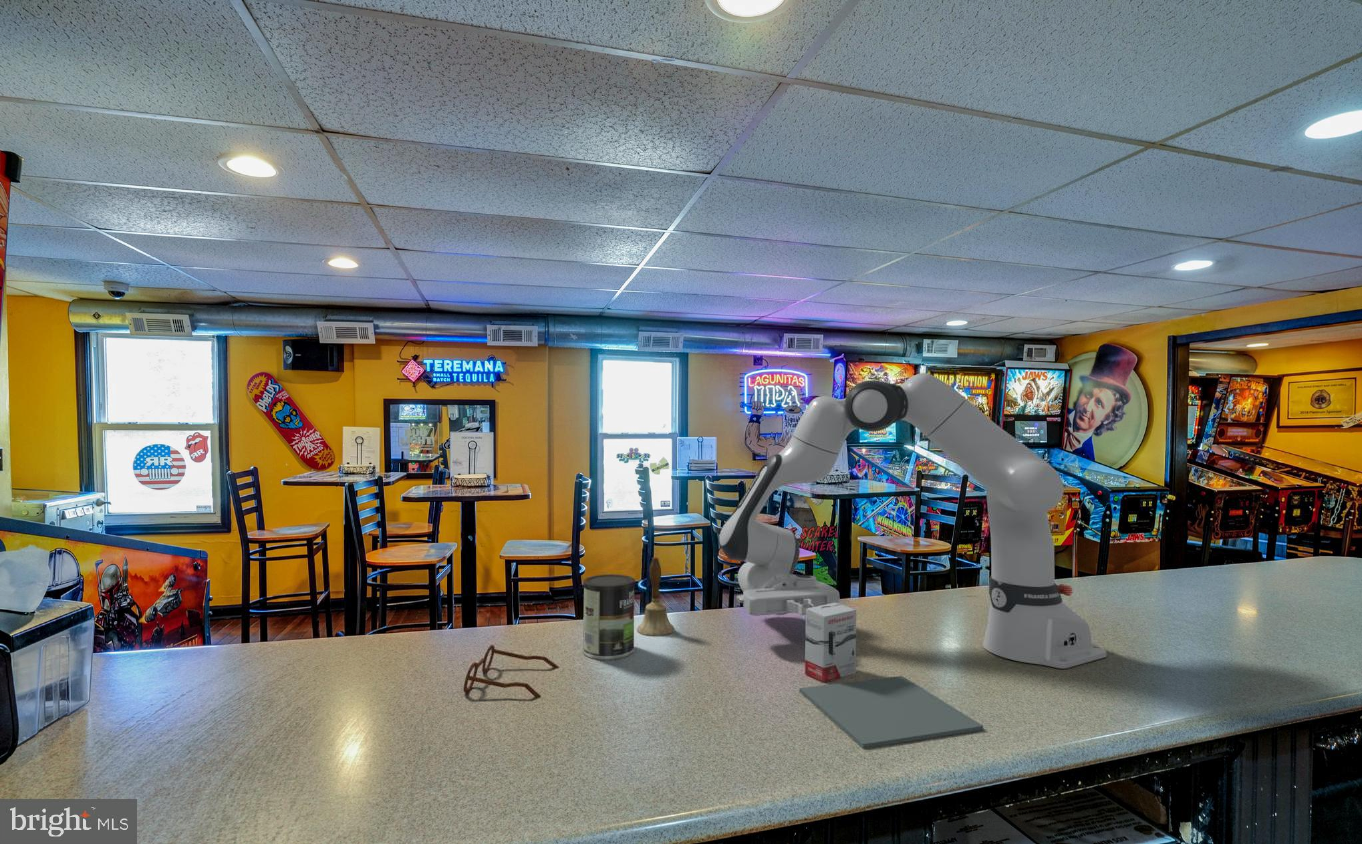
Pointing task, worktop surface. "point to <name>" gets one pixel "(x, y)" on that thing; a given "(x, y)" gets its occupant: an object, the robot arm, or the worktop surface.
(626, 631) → the coffee can
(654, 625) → the hand bell
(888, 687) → the rubber mat
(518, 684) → the glasses
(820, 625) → the ink box
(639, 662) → the worktop surface
